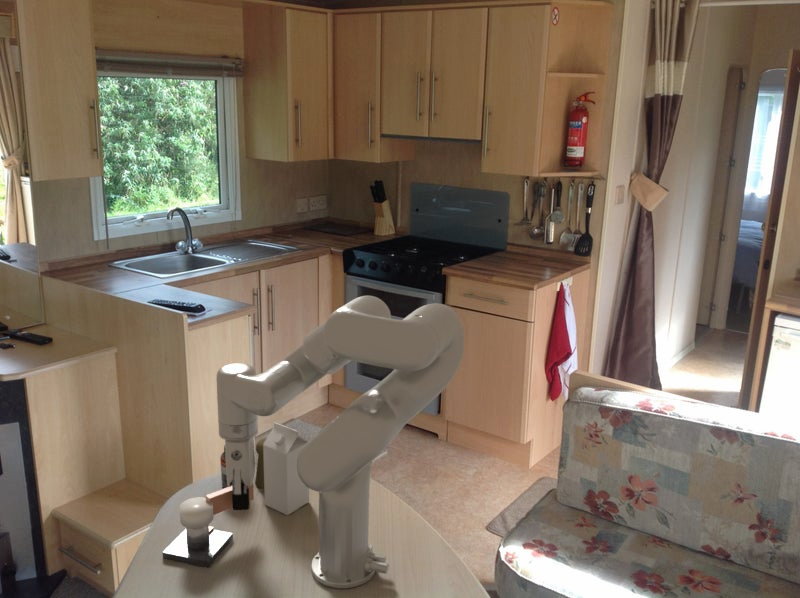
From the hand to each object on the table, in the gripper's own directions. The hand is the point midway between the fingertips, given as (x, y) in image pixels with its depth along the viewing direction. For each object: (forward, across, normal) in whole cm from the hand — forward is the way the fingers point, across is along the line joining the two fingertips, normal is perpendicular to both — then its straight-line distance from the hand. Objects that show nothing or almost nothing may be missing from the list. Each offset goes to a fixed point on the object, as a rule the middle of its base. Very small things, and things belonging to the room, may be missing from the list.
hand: (241, 507), depth 151 cm
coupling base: (+8, -2, +8) cm, 12 cm away
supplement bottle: (+8, +21, +3) cm, 22 cm away
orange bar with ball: (+1, 0, +5) cm, 5 cm away
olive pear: (+8, +23, -4) cm, 25 cm away
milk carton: (+8, +13, -9) cm, 18 cm away
